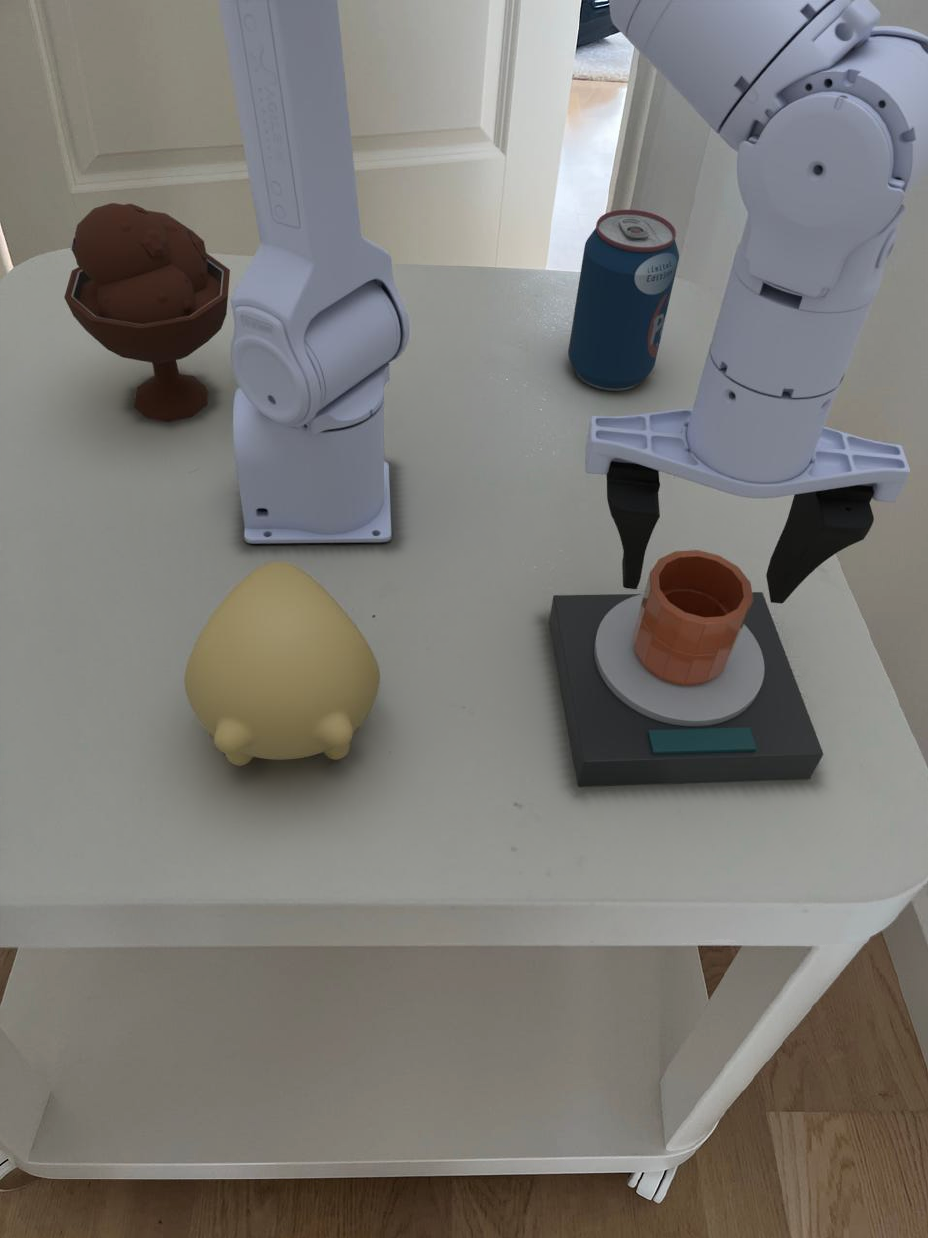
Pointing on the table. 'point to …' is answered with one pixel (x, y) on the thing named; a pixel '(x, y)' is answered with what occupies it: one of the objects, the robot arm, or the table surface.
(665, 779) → the scale
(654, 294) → the soda can
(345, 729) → the toy pig
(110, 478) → the table surface
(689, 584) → the terracotta cup
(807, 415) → the robot arm
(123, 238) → the ice cream bowl
